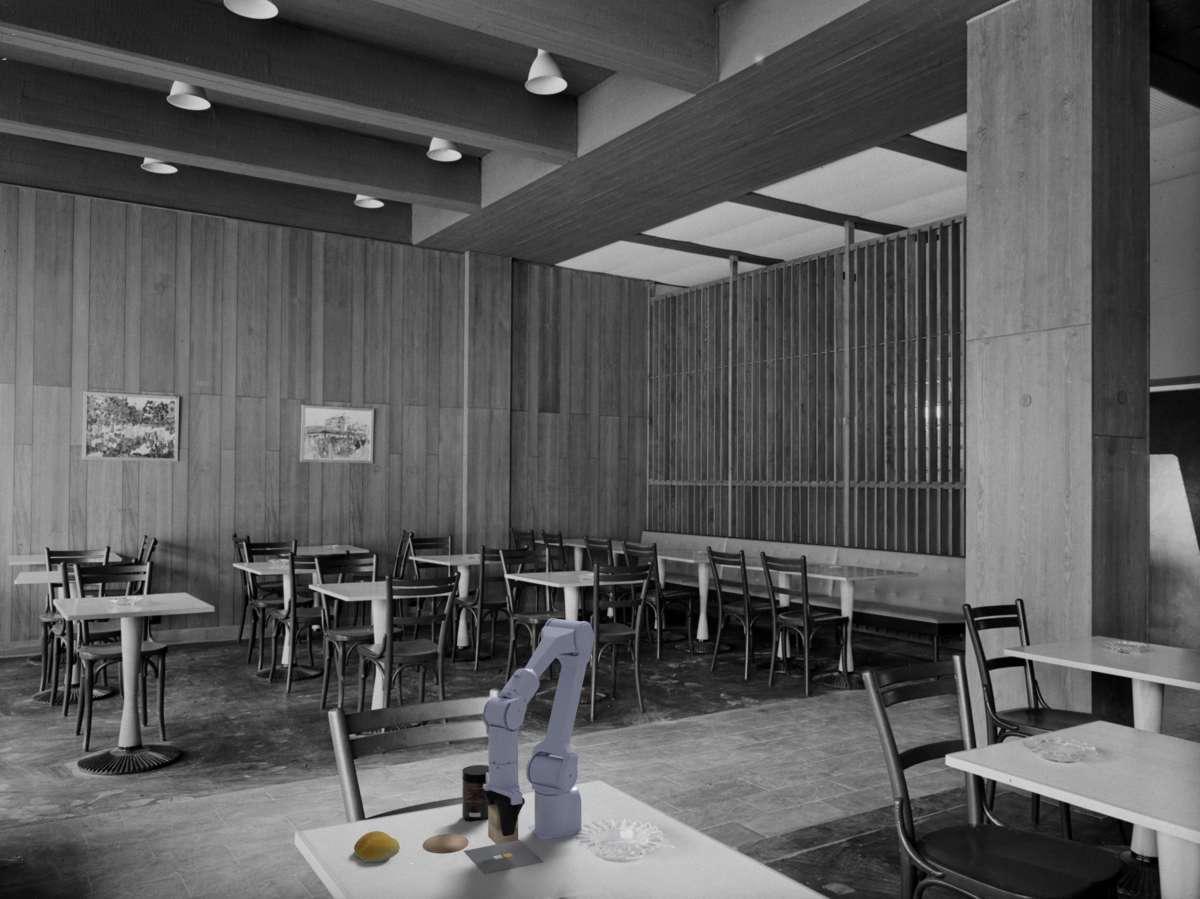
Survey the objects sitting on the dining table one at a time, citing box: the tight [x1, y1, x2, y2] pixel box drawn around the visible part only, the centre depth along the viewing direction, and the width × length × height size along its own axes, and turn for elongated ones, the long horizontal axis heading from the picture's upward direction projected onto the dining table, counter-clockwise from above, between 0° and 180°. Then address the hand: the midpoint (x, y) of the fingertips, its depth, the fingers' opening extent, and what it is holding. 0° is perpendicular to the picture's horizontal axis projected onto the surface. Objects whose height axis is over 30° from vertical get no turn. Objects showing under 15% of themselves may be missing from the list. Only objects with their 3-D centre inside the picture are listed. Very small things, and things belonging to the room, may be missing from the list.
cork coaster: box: [422, 833, 470, 854], centre depth 184 cm, size 9×9×1 cm
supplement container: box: [461, 764, 489, 823], centre depth 199 cm, size 7×7×10 cm
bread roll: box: [353, 830, 400, 863], centre depth 180 cm, size 8×9×4 cm
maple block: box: [487, 804, 519, 845], centre depth 178 cm, size 4×4×6 cm
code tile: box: [463, 839, 545, 875], centre depth 177 cm, size 12×12×1 cm
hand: (503, 830), depth 178 cm, fingers closed on maple block, 4 cm apart
